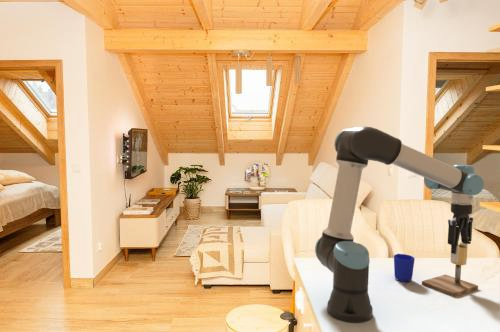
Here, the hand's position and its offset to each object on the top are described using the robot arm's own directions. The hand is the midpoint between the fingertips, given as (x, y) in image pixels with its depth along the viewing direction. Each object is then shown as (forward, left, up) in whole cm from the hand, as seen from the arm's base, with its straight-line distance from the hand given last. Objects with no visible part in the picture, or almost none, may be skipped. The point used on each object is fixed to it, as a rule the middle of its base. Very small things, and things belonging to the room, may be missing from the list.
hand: (458, 260), depth 154 cm
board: (-2, +2, -11) cm, 12 cm away
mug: (-11, +18, -12) cm, 24 cm away
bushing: (0, 0, -1) cm, 1 cm away
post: (0, 0, -10) cm, 10 cm away
